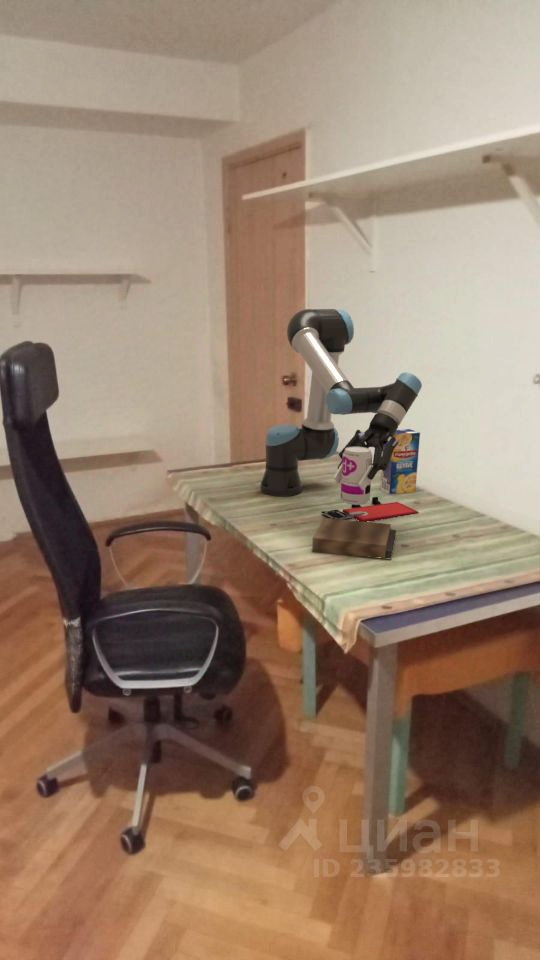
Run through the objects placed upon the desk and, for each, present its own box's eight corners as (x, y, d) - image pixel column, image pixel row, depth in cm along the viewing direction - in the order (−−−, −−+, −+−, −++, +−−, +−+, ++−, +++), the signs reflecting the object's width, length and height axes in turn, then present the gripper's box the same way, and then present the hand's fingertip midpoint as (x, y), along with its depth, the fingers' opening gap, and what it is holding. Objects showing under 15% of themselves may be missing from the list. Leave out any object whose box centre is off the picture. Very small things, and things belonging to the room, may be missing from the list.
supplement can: (351, 507, 184) (354, 454, 179) (334, 498, 190) (337, 447, 186) (375, 503, 187) (378, 451, 183) (358, 495, 194) (361, 445, 190)
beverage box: (415, 491, 245) (420, 432, 239) (389, 494, 241) (393, 434, 235) (405, 486, 251) (409, 429, 245) (379, 489, 247) (383, 430, 241)
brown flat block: (312, 551, 186) (312, 537, 184) (323, 530, 202) (323, 517, 201) (390, 559, 181) (391, 545, 180) (395, 537, 197) (396, 524, 196)
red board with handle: (317, 512, 219) (342, 527, 206) (317, 504, 218) (343, 519, 206) (390, 502, 233) (418, 515, 220) (390, 494, 232) (419, 507, 219)
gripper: (422, 433, 187) (384, 499, 180) (363, 422, 201) (326, 483, 195) (413, 417, 182) (373, 484, 175) (353, 406, 196) (314, 468, 190)
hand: (348, 483), depth 185 cm, fingers closed on supplement can, 8 cm apart
